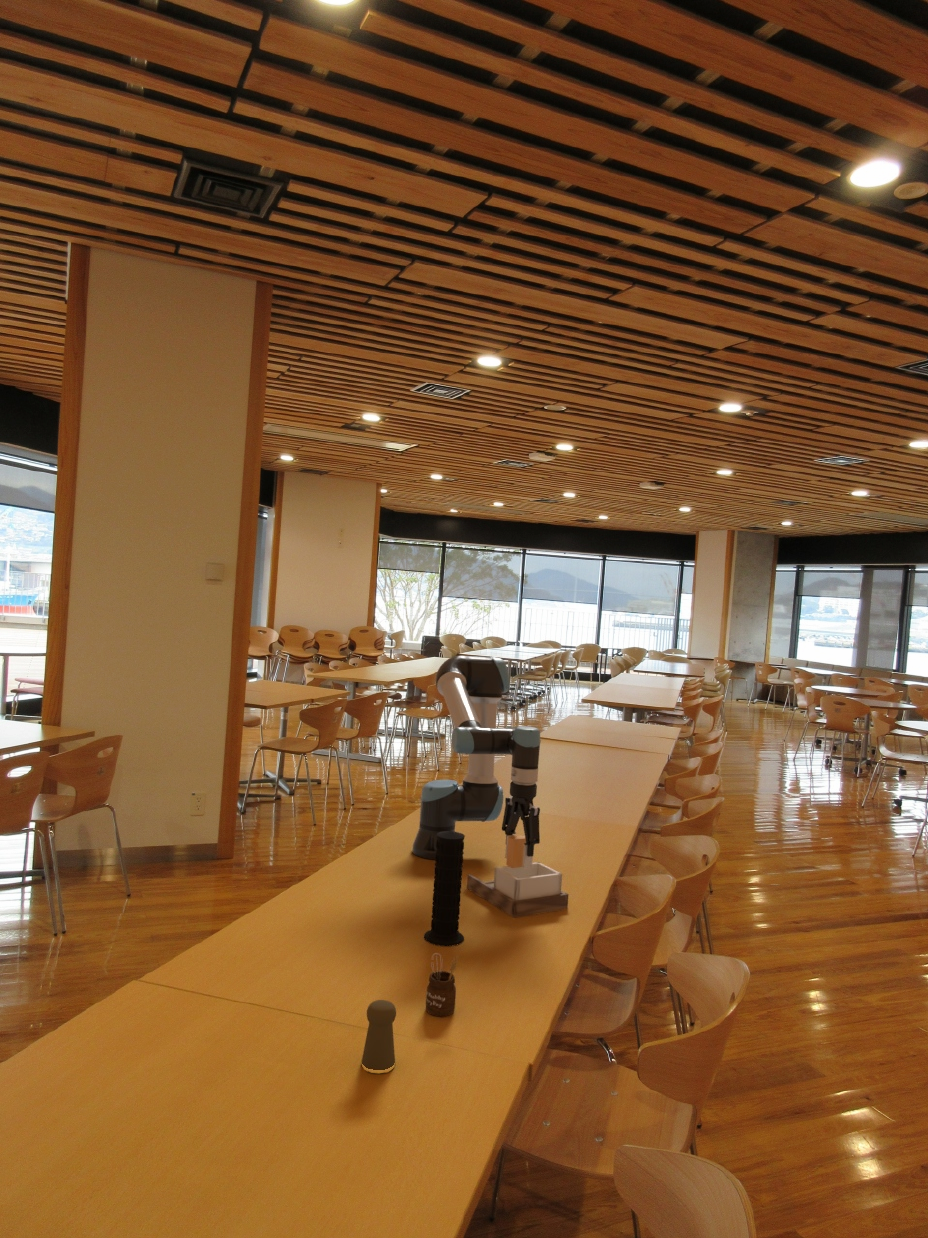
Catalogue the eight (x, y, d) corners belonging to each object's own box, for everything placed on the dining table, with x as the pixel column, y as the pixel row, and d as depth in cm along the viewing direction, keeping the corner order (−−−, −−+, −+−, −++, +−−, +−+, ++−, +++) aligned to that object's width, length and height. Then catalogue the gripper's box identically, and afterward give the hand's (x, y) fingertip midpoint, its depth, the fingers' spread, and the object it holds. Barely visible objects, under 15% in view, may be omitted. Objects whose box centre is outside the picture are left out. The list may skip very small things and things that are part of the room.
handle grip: (419, 943, 207) (459, 949, 205) (426, 833, 206) (467, 838, 204) (429, 927, 217) (468, 933, 215) (435, 823, 216) (475, 828, 214)
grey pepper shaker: (361, 1055, 155) (365, 995, 155) (395, 1056, 155) (399, 996, 155) (360, 1074, 149) (364, 1011, 149) (395, 1074, 149) (399, 1012, 149)
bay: (466, 888, 248) (467, 874, 248) (518, 881, 257) (518, 868, 257) (513, 917, 227) (514, 902, 227) (567, 909, 237) (568, 894, 237)
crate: (491, 895, 240) (494, 838, 239) (534, 888, 247) (538, 833, 247) (515, 909, 229) (519, 850, 229) (560, 902, 237) (564, 845, 237)
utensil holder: (438, 1000, 178) (442, 943, 178) (461, 1011, 174) (465, 952, 174) (419, 1010, 173) (423, 951, 173) (442, 1021, 169) (446, 961, 169)
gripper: (492, 775, 249) (487, 853, 249) (534, 791, 231) (528, 875, 231) (514, 773, 252) (508, 850, 253) (556, 789, 235) (551, 872, 235)
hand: (518, 862), depth 242 cm, fingers open, 8 cm apart
